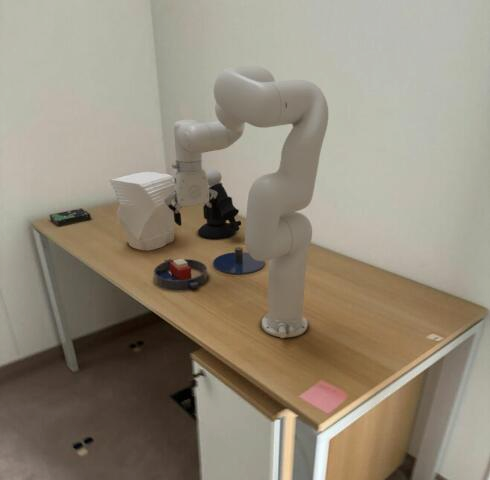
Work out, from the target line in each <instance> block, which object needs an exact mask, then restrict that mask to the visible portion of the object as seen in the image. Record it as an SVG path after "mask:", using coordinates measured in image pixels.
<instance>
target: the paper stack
mask: <svg viewBox="0 0 490 480" xmlns="http://www.w3.org/2000/svg"><path fill="white" fill-rule="evenodd" d="M109 182H110V185H111V186H112V189H113V190H114V192H115V194H116V198H117V201H118V204H119V206H118V208H117V211H116V214H115V215H116V218H117V219H119V221H120V224H121V227H122V229H123V231H124V234H125V237H126V240H127V243H128V245H129V246H130V247H131V248H133V249H136V250H139V251H149V252H150V251H153V250H155V249H159V248H163V247H165V246H166V245H167V244H170V243H172V242H173V241H174V240H175V225H174V224H175V221H174V211H172V210H171V209H170V208H169V207H168V206H167V205H166V203H165V201H164V199H165V198H166V197H167V196H169V195H170V194H172V193H173V192H174V176H172V175H171V174H168V173H161V172H157V171H142V172H137V173H131V174H127V175H123V176H120V177H116V178H113V179H110V180H109ZM171 204H172V205H173V206H174V204H175V200H174V199H173V200H171Z"/></svg>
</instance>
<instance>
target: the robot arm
mask: <svg viewBox="0 0 490 480" xmlns="http://www.w3.org/2000/svg"><path fill="white" fill-rule="evenodd" d="M213 97H214V100H215V104H214V113H215V116H216V118H217V120H215V121H207V122H200V123H199V122H198V121H197V120H195V119H180V120H177V121H175V122H174V124H173V136H174V149H175V151H174V152H175V162H174V163H171V167H172V169H175V171H174V176H173V179H174V192H173V193H172V194H170V195H169V196H167V197H166V198H165V199H164V201H165V203H166V205H167V206H168V207H169V208H170V209H171V210H172V211H174V224H176V225H177V226H179V227H180V226H182V215H181V212H180V211H181V210H182V208H188V207H195V206H200V205H201V206H202V205H203V207H202V208H203V209H202V211H203V219H205V220H206V221H207V220H208V221H209V220H210V216H211V212H210V208H211V207H212V204H213V203H214V202H215V198H216V196H217V194H218V193H217V192H216V191H214V190H212V189H209V188H208V187H209V185H208V181H207V176H206V174H207V172H206V169H204V168H203V158H202V155H203V154H205V153H208V152H214V151H222V150H226V149H227V148H229V147H231V146H232V145H234V143H236V142H237V141H238V140H240V138H241V137H242V136H243V134H244V130H245V125H246V124H248V125H251V126H253V127H256V128H261V129H262V128H263V129H265V128H273V127H279V126H287V125H292V128H291V130H290V131H289V133H288V135H287V137H286V138H285V140H284V142H283V145H282V148H281V153H280V160H279V161H280V162H279V167H278V169H277V170H276V171H275V172H272V173H266V174H264V175H261V176H259V177H257V179H255V180H254V181H253V183H252V184H251V186H250V188H249V192H248V196H247V206H246V215H245V227H244V229H245V230H244V244H245V249H246V251H247V253H249V255H250V256H251V257H252V258H253V259H255V260H257V261H264V262H267V261H269V263H268V273H267V274H268V277H267V279H268V280H267V314H266V315H265V316H264V317H263V318H262V320H261V329H263V331H264V332H266V333H267V334H268V335H271V336H274V337H279V338H280V339H284V338H294V337H298V336H301V335H302V334H304V333H305V332H306V331H307V330H308V320H307V319H306V317H305V316H303V312H304V299H305V298H304V297H305V285H306V271H307V270H306V269H307V261H308V254H309V251H310V247H311V243H312V238H313V226H312V224H311V221H310V219H309V218H308V217H307V216H306V215H305V214H303V213H302V212H299V211H301V210H304V209H306V208H307V207H308V206H309V205H310V204H311V202H312V200H313V197H314V192H315V186H316V181H317V176H318V170H319V169H318V168H319V163H320V156H321V152H322V147H323V143H324V140H325V137H326V132H327V130H328V123H329V106H328V102H327V99H326V96H325V95H324V92H323V91H322V89H321V88H320V87H319V86H318V85H317V84H315V83H314V82H311V81H309V80H304V79H303V80H302V79H288V80H277V81H275V78H274V76H273V74H272V72H270V71H269V70H268V69H266V68H265V67H262V66H256V65H255V66H253V65H252V66H233V67H227V68H225V69H223V70H222V71H220V72H219V74H218V75H217V76H216V77H215V80H214V83H213ZM209 193H210V194H211V197H210V198H209ZM173 199H174V200H175V204H174V206H173V205H172V204H171V200H173Z"/></svg>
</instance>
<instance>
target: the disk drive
mask: <svg viewBox="0 0 490 480" xmlns="http://www.w3.org/2000/svg"><path fill="white" fill-rule="evenodd" d="M49 219H50V221H51V222H52V223H53V224H55V225H56V226H58V227H60V226H61V227H62V226H65V225H70V224H76V223H79V222H84V221H88V220H92V216H91V213H90V212H88V211H87V210H84V209H83V208H76V209H71V210H67V211H61V212H56V213H50V214H49Z"/></svg>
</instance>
